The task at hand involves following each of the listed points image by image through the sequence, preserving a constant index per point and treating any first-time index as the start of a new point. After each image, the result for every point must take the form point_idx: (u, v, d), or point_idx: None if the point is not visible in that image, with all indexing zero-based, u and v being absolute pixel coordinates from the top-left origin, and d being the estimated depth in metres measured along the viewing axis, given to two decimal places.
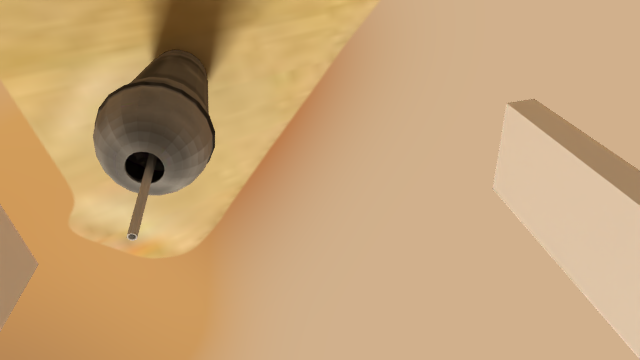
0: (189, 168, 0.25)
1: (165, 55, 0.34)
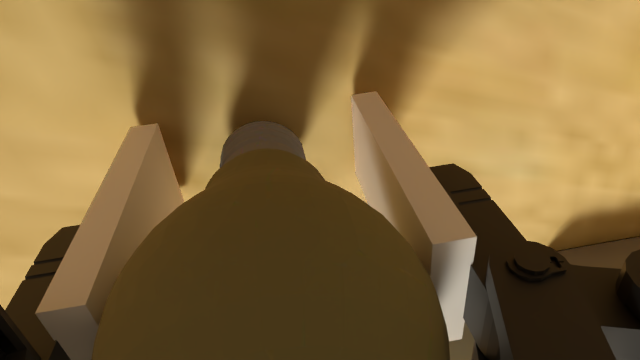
0: None
1: None
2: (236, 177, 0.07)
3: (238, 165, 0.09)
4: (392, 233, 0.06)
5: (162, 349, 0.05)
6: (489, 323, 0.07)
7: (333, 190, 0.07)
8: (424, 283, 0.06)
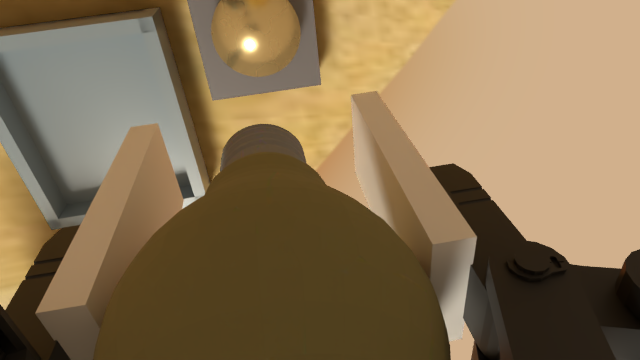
0: None
1: None
2: (237, 182, 0.07)
3: (238, 168, 0.09)
4: (393, 238, 0.06)
5: (163, 357, 0.05)
6: (489, 323, 0.07)
7: (334, 195, 0.07)
8: (425, 289, 0.06)
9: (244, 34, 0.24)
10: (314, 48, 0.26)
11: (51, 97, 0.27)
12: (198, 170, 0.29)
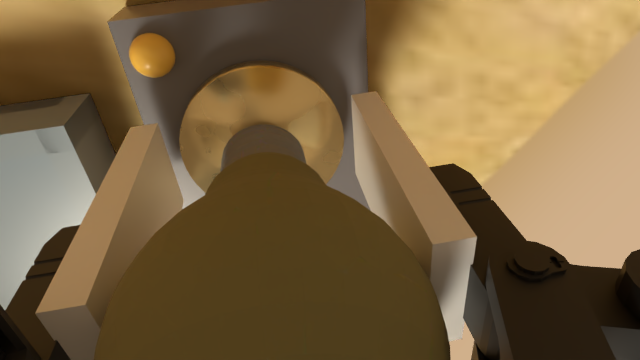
0: None
1: None
2: (237, 182, 0.08)
3: (238, 169, 0.09)
4: (393, 239, 0.06)
5: (163, 357, 0.05)
6: (489, 323, 0.07)
7: (334, 195, 0.07)
8: (425, 289, 0.06)
9: None
10: None
11: None
12: None
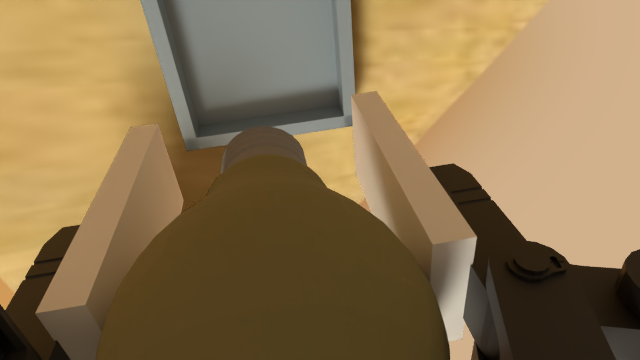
0: None
1: None
2: (237, 184, 0.08)
3: (239, 171, 0.09)
4: (393, 241, 0.06)
5: (165, 358, 0.05)
6: (489, 323, 0.07)
7: (334, 198, 0.07)
8: (424, 291, 0.06)
9: None
10: None
11: None
12: (353, 83, 0.26)
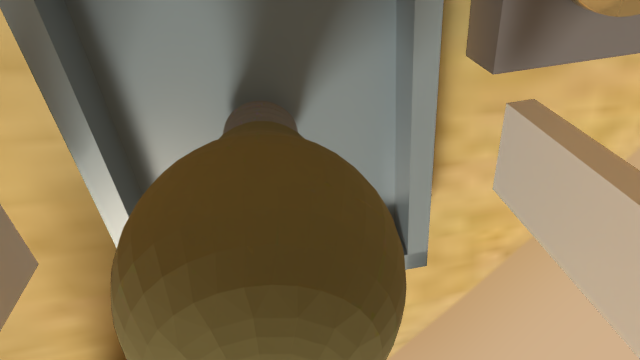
0: None
1: None
2: None
3: (235, 131, 0.11)
4: (358, 177, 0.08)
5: (168, 248, 0.06)
6: None
7: (311, 143, 0.08)
8: (382, 215, 0.07)
9: None
10: None
11: (173, 65, 0.13)
12: (428, 208, 0.16)
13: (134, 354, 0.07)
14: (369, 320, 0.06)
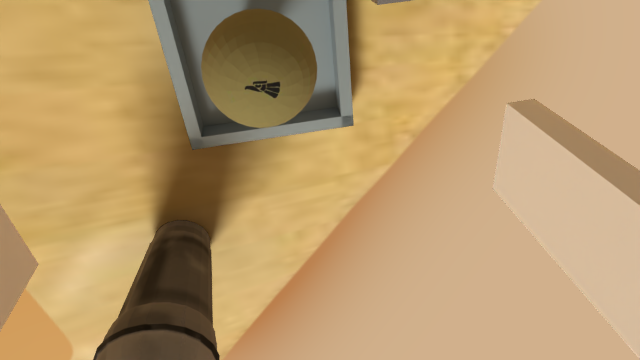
0: None
1: (167, 235, 0.32)
2: None
3: None
4: (296, 24, 0.20)
5: (228, 34, 0.18)
6: None
7: None
8: (304, 35, 0.20)
9: None
10: None
11: None
12: (350, 85, 0.28)
13: (215, 75, 0.19)
14: (296, 62, 0.19)
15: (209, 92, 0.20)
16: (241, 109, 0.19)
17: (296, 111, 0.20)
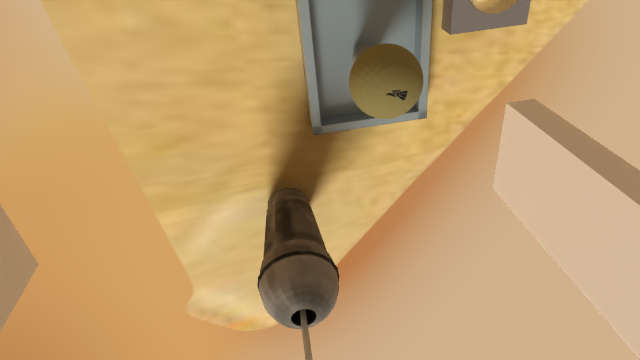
0: (328, 311, 0.36)
1: (284, 199, 0.44)
2: None
3: None
4: None
5: (376, 61, 0.30)
6: None
7: None
8: None
9: None
10: None
11: (336, 31, 0.37)
12: (427, 89, 0.39)
13: (366, 86, 0.30)
14: (417, 78, 0.30)
15: (358, 96, 0.31)
16: (381, 107, 0.31)
17: (410, 108, 0.32)
